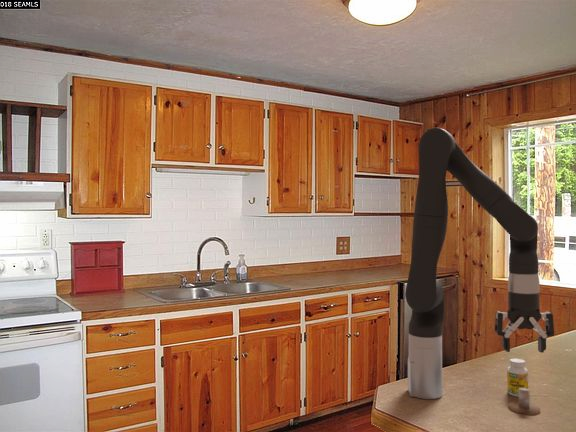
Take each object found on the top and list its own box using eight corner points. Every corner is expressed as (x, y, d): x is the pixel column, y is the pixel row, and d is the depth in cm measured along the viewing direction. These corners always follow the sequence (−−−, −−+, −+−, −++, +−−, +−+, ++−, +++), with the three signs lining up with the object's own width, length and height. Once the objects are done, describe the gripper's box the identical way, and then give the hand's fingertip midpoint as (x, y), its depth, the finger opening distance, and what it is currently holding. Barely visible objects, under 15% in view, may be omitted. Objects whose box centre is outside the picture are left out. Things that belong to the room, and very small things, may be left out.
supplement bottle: (528, 392, 146) (528, 359, 145) (527, 398, 141) (527, 364, 141) (508, 389, 148) (508, 356, 148) (506, 395, 143) (506, 361, 143)
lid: (514, 415, 130) (513, 394, 130) (504, 403, 138) (504, 384, 138) (545, 416, 130) (544, 395, 130) (533, 404, 137) (533, 385, 137)
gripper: (499, 292, 130) (500, 355, 131) (558, 292, 129) (558, 356, 129) (491, 287, 138) (491, 347, 138) (546, 287, 136) (546, 348, 137)
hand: (524, 351), depth 134 cm, fingers open, 8 cm apart
